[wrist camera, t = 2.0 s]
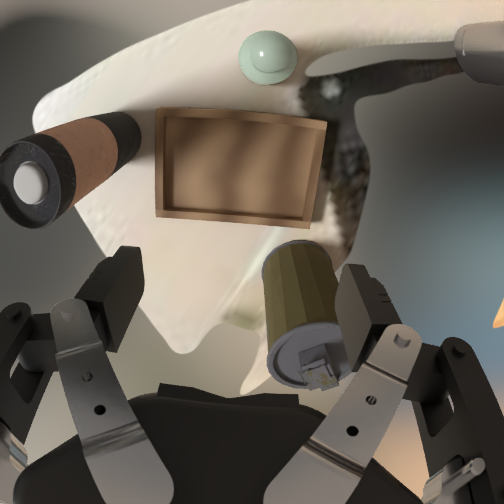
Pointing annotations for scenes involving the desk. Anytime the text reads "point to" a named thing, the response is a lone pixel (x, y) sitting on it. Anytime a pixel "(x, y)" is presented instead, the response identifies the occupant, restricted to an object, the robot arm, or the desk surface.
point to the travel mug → (63, 166)
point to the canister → (303, 317)
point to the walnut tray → (237, 166)
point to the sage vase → (267, 57)
